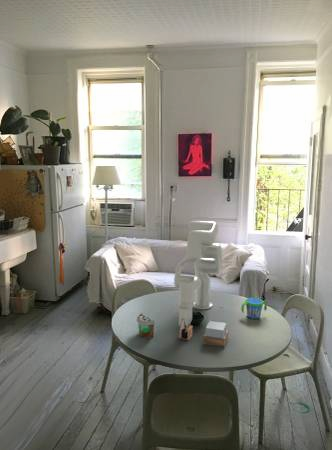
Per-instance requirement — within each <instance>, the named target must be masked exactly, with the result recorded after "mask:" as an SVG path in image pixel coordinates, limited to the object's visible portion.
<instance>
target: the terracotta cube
mask: <svg viewBox="0 0 332 450" xmlns="http://www.w3.org/2000/svg"><path fill="white" fill-rule="evenodd" d="M184 326H186V325H184ZM184 328H185V329H186V327H184ZM193 328H194V326H193V325H191V326H190V325H189V326H188V327H187V339H185V340H187V341H188V340H189V341H190V340H191V339H190V338H192V337H193ZM180 338H181V326H179V339H180ZM181 339H183V338H181ZM181 339H180V340H181ZM183 340H184V339H183Z"/></svg>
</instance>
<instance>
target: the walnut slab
mask: <svg viewBox="0 0 332 450" xmlns="http://www.w3.org/2000/svg"><path fill="white" fill-rule="evenodd" d="M202 339H203V340H202V343H203V344H204V345H209V346H216V347H223V348H225V346H226V344H227V341H228V339H229V329H226V333H225V335H224V338H223V339H221V338H215V337H209V336H206V331H205V332H204V335H203V337H202Z"/></svg>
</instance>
